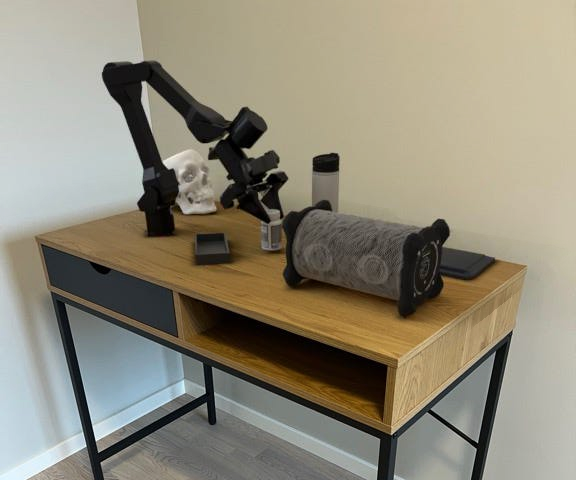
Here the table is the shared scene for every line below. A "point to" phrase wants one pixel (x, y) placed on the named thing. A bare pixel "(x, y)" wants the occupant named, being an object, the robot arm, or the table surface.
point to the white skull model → (192, 182)
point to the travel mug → (326, 179)
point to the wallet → (463, 263)
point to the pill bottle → (272, 231)
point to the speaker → (365, 254)
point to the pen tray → (211, 248)
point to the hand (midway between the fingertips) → (276, 220)
